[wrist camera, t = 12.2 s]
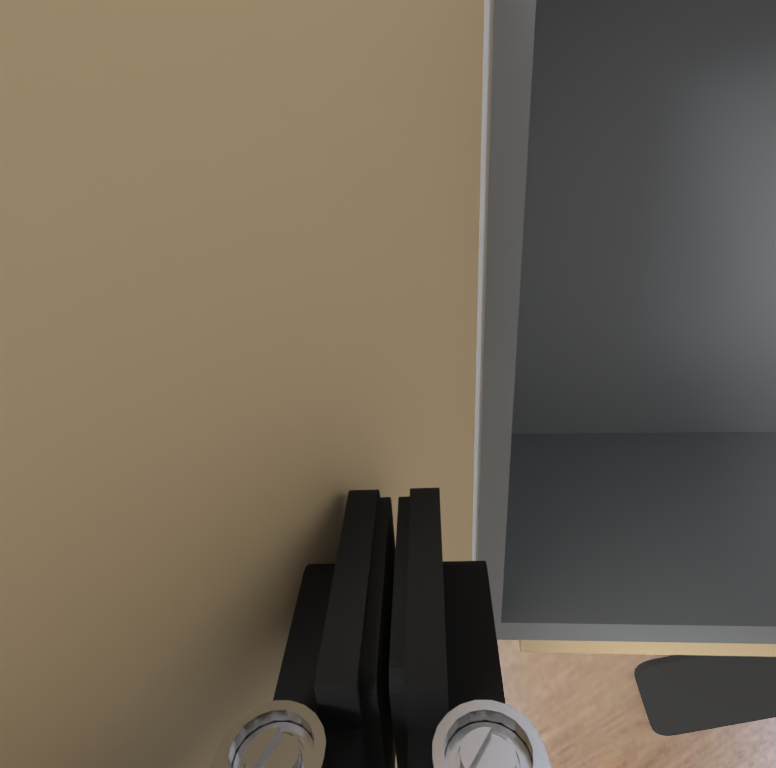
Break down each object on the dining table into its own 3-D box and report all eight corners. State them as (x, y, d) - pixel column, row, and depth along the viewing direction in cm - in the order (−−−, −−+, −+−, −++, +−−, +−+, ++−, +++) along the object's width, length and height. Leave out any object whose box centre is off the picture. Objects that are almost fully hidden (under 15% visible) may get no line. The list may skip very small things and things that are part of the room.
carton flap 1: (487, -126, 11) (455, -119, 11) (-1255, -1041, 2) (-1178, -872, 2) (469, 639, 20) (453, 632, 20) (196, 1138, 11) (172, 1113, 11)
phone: (904, 695, 37) (655, 739, 40) (895, 682, 38) (651, 727, 41) (901, 613, 34) (632, 669, 37) (891, 602, 35) (628, 657, 38)
